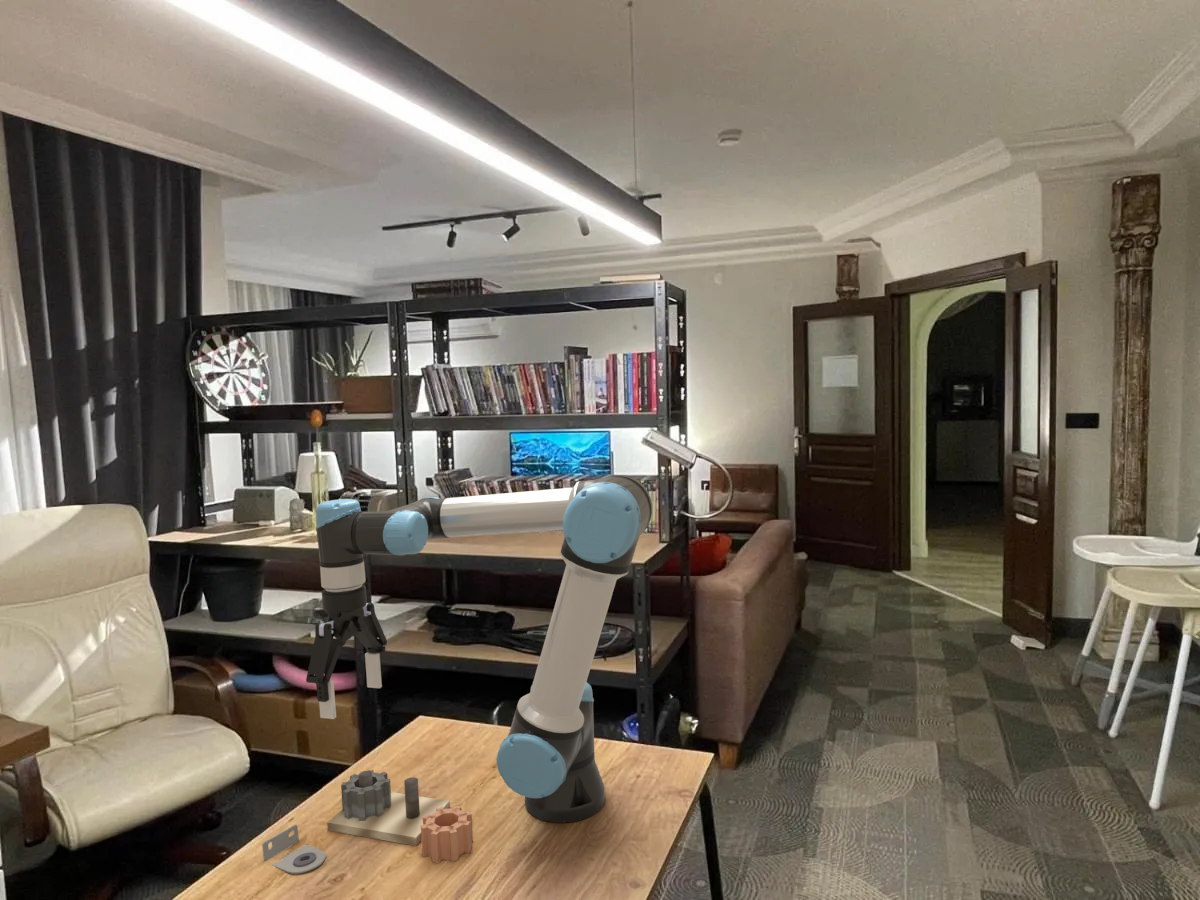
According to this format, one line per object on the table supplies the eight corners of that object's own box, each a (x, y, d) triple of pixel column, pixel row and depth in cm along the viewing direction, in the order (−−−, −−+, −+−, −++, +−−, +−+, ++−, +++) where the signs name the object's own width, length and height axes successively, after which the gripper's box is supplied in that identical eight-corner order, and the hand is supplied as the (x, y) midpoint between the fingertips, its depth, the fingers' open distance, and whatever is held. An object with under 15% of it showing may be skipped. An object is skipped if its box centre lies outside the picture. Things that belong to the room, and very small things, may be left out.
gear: (474, 831, 136) (473, 804, 136) (470, 860, 128) (469, 831, 127) (426, 835, 135) (424, 808, 135) (419, 864, 127) (418, 835, 127)
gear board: (450, 808, 144) (448, 767, 143) (416, 845, 132) (414, 801, 132) (367, 795, 149) (364, 756, 148) (327, 830, 138) (325, 787, 137)
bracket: (300, 882, 124) (298, 861, 124) (263, 862, 130) (261, 843, 129) (334, 860, 129) (333, 840, 129) (297, 842, 135) (296, 823, 135)
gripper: (367, 569, 150) (375, 674, 152) (277, 605, 126) (287, 729, 128) (400, 570, 148) (408, 677, 149) (315, 607, 124) (325, 734, 126)
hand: (352, 701), depth 139 cm, fingers open, 13 cm apart
